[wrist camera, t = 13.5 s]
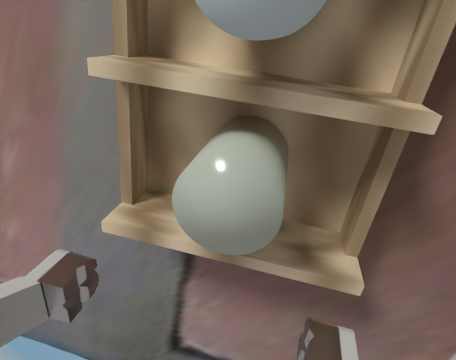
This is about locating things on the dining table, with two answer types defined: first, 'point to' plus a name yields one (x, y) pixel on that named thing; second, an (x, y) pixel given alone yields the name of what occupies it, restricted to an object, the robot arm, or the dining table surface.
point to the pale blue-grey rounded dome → (260, 16)
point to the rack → (274, 119)
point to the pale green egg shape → (235, 188)
